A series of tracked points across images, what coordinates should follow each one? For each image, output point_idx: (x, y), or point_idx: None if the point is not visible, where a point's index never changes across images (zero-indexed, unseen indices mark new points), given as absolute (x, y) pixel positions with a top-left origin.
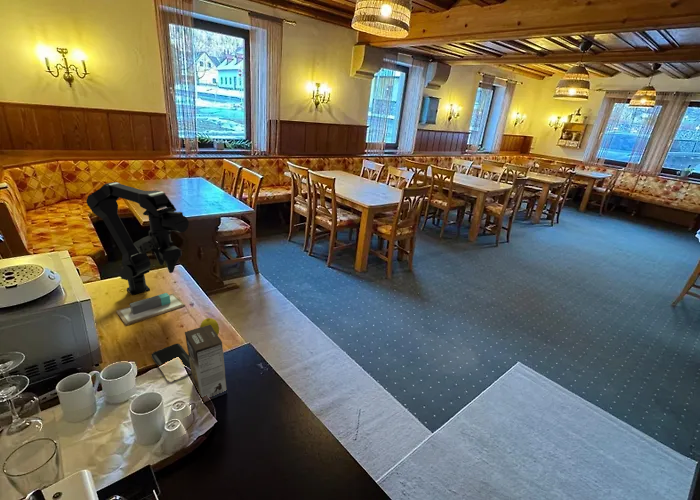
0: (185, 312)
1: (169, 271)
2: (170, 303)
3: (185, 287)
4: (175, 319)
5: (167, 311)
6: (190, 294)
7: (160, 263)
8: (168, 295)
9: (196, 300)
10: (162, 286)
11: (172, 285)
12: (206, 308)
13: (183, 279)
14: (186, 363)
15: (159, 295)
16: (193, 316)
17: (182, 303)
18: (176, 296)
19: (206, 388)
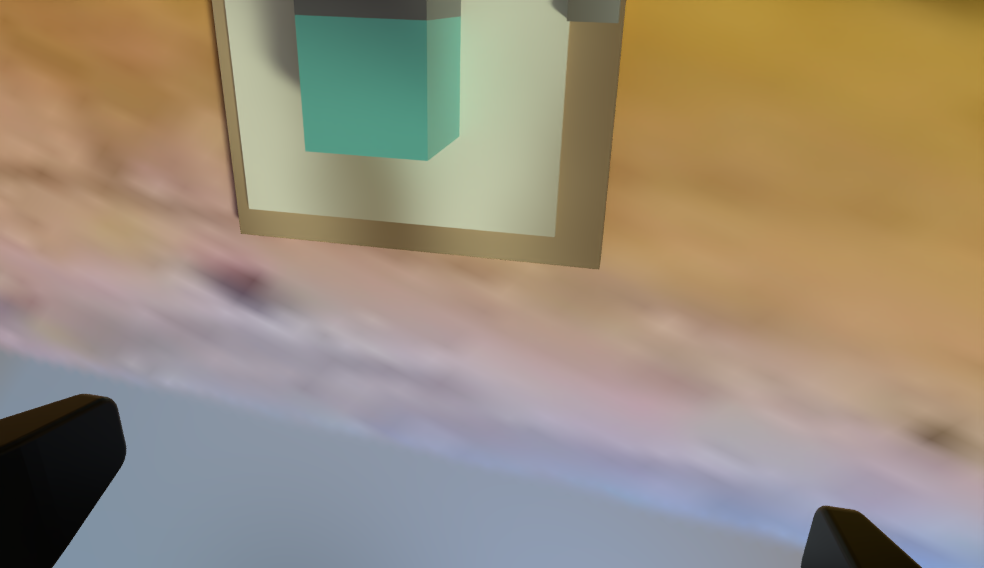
0: (118, 162)
1: (14, 416)
2: None
3: (682, 438)
4: (26, 17)
5: (222, 18)
6: (469, 386)
7: (834, 552)
8: (319, 141)
9: (300, 357)
10: (975, 272)
11: (877, 372)
12: (99, 337)
13: (923, 533)
14: None
15: (399, 39)
16: (9, 181)
17: (275, 222)
18: (489, 255)
19: None
